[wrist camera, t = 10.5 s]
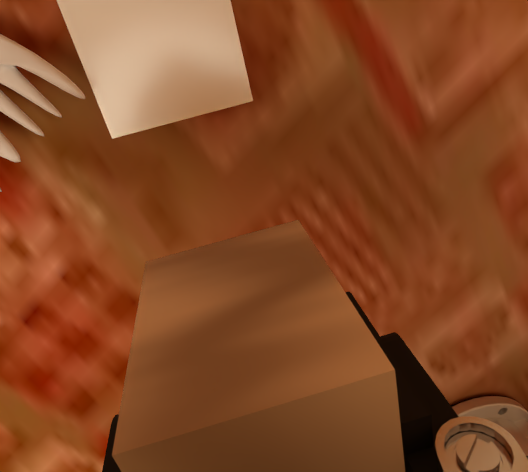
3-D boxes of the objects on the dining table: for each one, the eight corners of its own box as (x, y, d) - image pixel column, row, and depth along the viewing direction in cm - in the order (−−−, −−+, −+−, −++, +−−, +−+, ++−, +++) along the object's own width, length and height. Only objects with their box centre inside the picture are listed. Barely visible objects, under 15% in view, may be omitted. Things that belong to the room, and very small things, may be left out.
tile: (247, 96, 22) (211, -65, 18) (252, 101, 20) (214, -72, 17) (115, 131, 21) (53, -28, 18) (111, 138, 20) (43, -32, 17)
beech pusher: (298, 219, 11) (395, 369, 6) (326, 363, 13) (414, 559, 8) (145, 261, 10) (112, 455, 6) (201, 400, 13) (212, 626, 8)
